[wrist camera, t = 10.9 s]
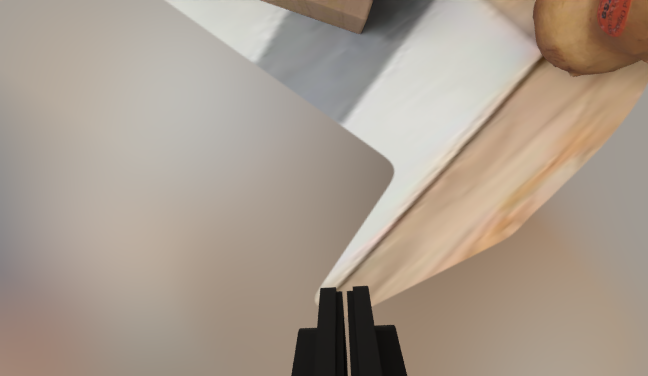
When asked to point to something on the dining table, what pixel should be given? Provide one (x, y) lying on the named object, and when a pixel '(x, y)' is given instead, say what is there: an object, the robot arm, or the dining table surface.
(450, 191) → the dining table surface
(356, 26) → the decorative block
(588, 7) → the butternut squash
